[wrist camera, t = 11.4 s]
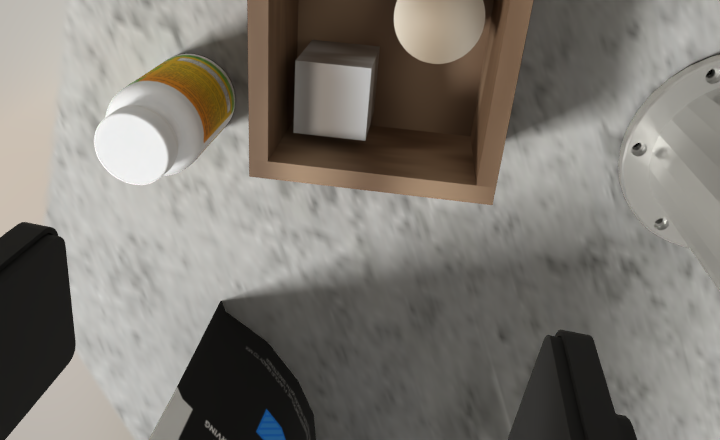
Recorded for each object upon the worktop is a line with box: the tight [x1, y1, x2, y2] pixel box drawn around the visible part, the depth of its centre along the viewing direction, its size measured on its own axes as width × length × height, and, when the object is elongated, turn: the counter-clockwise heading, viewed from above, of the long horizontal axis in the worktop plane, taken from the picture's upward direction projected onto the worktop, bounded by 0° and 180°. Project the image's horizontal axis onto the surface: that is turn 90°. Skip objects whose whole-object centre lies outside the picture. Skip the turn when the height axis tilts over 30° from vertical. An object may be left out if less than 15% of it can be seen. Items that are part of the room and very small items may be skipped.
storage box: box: [247, 0, 533, 205], centre depth 33 cm, size 13×13×8 cm
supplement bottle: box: [94, 54, 235, 185], centre depth 36 cm, size 5×5×10 cm
